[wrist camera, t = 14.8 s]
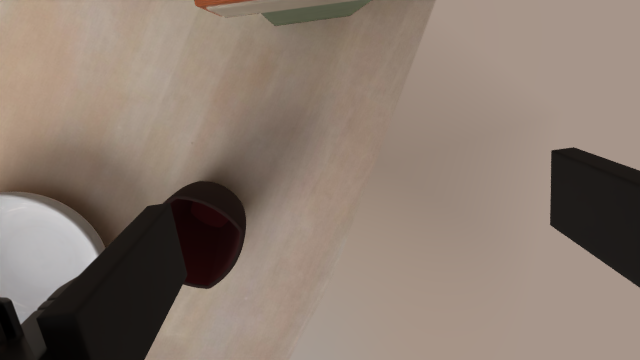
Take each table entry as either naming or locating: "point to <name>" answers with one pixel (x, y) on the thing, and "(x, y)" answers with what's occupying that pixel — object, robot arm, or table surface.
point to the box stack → (314, 12)
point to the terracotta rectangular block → (257, 6)
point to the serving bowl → (41, 248)
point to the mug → (208, 231)
